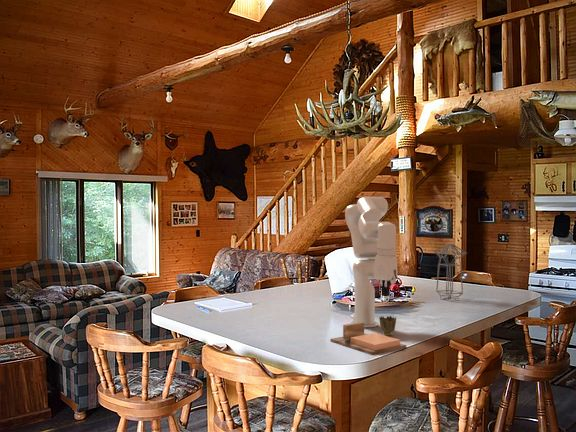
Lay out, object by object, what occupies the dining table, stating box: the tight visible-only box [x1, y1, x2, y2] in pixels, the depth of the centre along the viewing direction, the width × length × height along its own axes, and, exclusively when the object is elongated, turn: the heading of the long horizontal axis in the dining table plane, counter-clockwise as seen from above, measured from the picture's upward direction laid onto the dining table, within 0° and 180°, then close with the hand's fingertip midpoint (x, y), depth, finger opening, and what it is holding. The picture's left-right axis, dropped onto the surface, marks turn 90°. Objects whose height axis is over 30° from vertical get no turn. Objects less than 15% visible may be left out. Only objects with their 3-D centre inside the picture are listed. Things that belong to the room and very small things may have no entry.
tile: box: [351, 332, 401, 350], centre depth 212 cm, size 14×14×2 cm
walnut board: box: [329, 322, 407, 356], centre depth 215 cm, size 25×19×7 cm
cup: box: [378, 315, 397, 337], centre depth 230 cm, size 8×7×8 cm
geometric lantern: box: [433, 243, 468, 300], centre depth 324 cm, size 16×16×35 cm
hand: (385, 295), depth 220 cm, fingers closed
